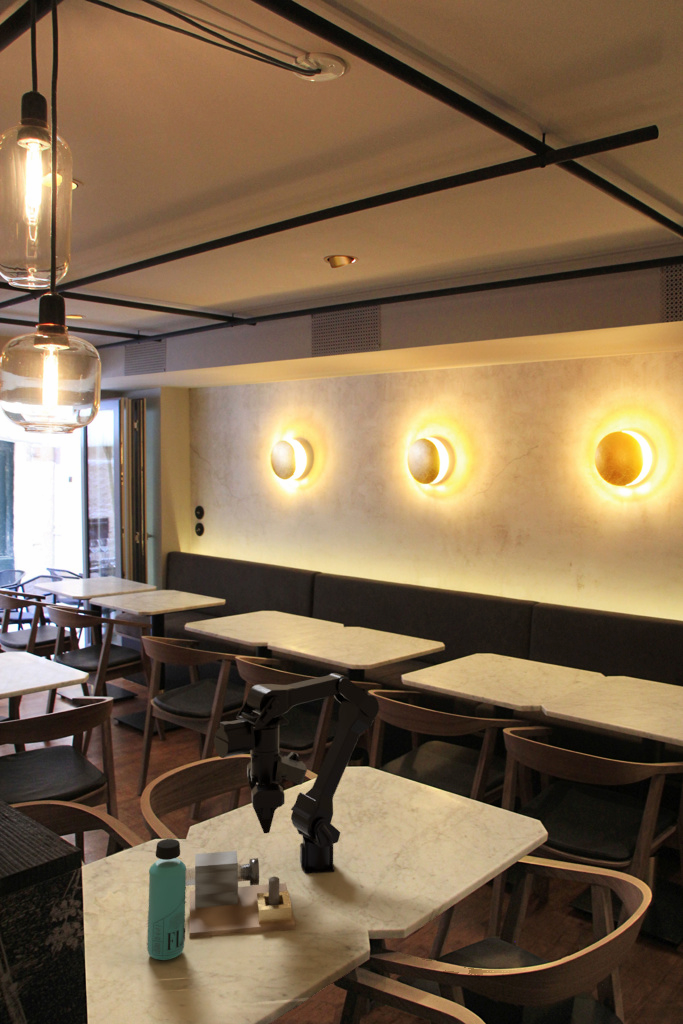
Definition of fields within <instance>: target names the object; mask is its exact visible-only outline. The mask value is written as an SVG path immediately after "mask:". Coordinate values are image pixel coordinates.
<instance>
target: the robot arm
mask: <svg viewBox="0 0 683 1024" xmlns="http://www.w3.org/2000/svg"><path fill="white" fill-rule="evenodd" d="M330 697H334V699H335V700H336V701H337V702H339V703H340V705H339V709H338V727H337V730H336V732H335V734H334V737H333V740H332V741H331V744H330V746H329V748H328V750H327V753H326V755H325V757H324V760H323V762H322V765H321V767H320V769H319V772H318V774H317V776H316V778H315V780H314V783H313V785H312V786H311V788H310V789H309V790H308V791H307V792H306V793H303V792H299V793H298V794H297V797H296V800H295V802H294V804H293V806H292V807H291V809H290V810H291V811H292V813H291V816H290V819H291V823H292V826H293V828H295V829H296V831H297V833H298V834H299V835H301V836H302V843H300V844H299V863H300V867H301V868H303V872H304V874H321V873H334V872H335V869H336V868H335V865H334V844H337V843H338V842H339V841H340V840H339V839H340V837H341V831H339V830H338V829H337V828H336V827H335V826H334V825H333V824H332V819H333V816H334V796H335V794H336V792H337V789H338V787H339V784H340V783H341V780H342V777H343V775H344V773H345V771H346V768H347V766H348V763H349V761H350V759H351V756H352V754H353V752H354V749H355V747H356V745H357V742H358V740H359V739H360V736H361V735H362V734H363V733H364V732H365V731H367V730H368V729H369V728H370V727H371V726H372V725H373V723H374V721H375V720H376V717H377V716H378V714H379V711H380V705H379V700H378V698H377V697H376V696H375V695H372V694H369V693H367V692H366V691H364V690H363V689H362V688H361V687H359V686H357V685H356V684H355V683H354V682H353V681H352V680H351V679H349V678H348V676H345V675H342V674H341V673H340V674H339V673H337V672H333V673H332V672H331V673H329V674H328V675H325V676H324V675H323V676H320V677H315V678H311V679H307V680H303V681H298V682H294V683H289V684H288V683H287V684H276V683H275V684H274V683H259V684H255V685H253V686H252V687H250V690H249V692H248V694H247V697H246V699H245V701H244V702H243V704H242V706H241V707H240V709H239V711H238V713H237V714H236V716H235V718H236V719H237V720H236V719H235V720H229V721H220V722H219V727H218V729H217V730H216V731H215V736H214V738H213V744H214V748H215V751H216V753H217V755H218V756H219V757H220V758H221V759H225V758H230V757H235V756H239V755H242V754H247V753H249V754H250V755H249V756H250V761H249V763H247V765H246V774H247V780H248V784H249V787H250V790H251V804H252V808H253V810H254V812H255V814H256V816H257V819H258V821H259V824H260V827H261V830H262V832H263V834H269V833H270V832H271V827H272V824H273V820H274V817H275V812H276V810H277V809H278V808H280V807H282V806H283V805H284V804H285V792H284V788H283V787H282V786H281V785H280V784H279V783H281V782H283V779H284V780H286V781H290V782H293V783H295V784H296V785H303V783H304V780H305V777H306V774H307V772H308V769H307V768H308V767H307V765H306V763H304V761H300V757H299V753H297V752H294V751H291V752H290V753H288V755H284V756H282V755H281V752H280V726H284V725H288V724H289V720H288V719H286V717H284V716H283V715H284V714H286V713H288V712H289V711H290V710H291V709H292V708H293V707H295V706H297V705H301V704H305V703H310V702H313V701H319V700H322V699H326V698H330ZM254 713H256V714H257V715H258V716H257V715H255V714H254Z"/></svg>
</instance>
